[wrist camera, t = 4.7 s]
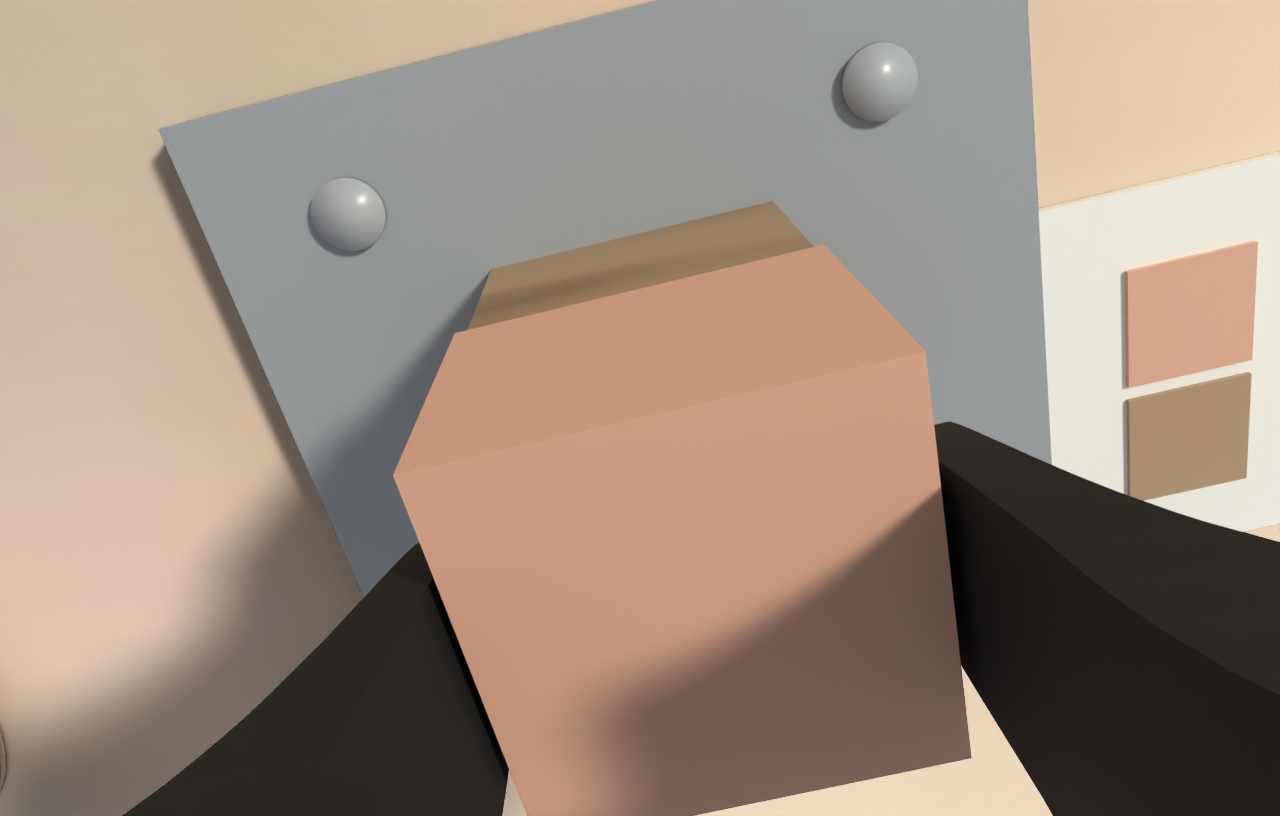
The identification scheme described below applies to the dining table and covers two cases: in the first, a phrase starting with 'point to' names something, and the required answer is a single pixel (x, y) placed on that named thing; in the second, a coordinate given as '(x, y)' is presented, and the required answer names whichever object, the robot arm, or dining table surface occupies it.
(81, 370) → the dining table surface
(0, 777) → the soda can
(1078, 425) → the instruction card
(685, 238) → the walnut block
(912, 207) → the build plate
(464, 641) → the terracotta block
